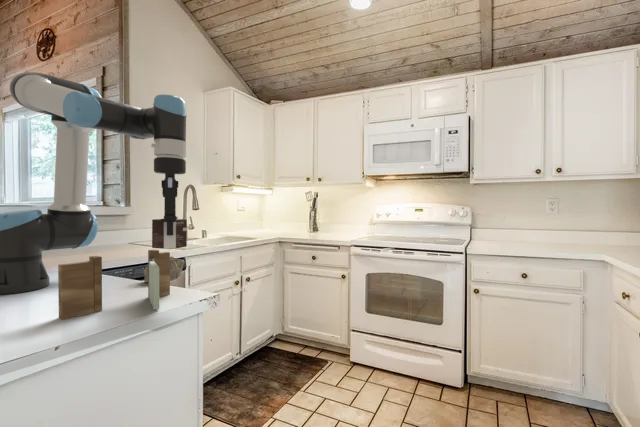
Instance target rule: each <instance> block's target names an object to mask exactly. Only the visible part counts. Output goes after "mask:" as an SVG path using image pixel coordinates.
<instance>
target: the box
mask: <svg viewBox="0 0 640 427" xmlns="http://www.w3.org/2000/svg"><path fill="white" fill-rule="evenodd" d="M161 219H162V218H159V219H157V218H156V219H152V220H151V222H152V223H151V242H152V243H151V248H152V249H162V250H163V249H164V222H161ZM187 221H188V220H187V219H185V218H182V219H181V218H178V219H176V221H175V222H176V249H181V248H186V247H187V245H188V242H187V241H188V240H187V239H188V238H187V236H188V235H187V234H188V233H187V229H188V228H187V226H188V225H187ZM164 250H165V249H164Z"/></svg>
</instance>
